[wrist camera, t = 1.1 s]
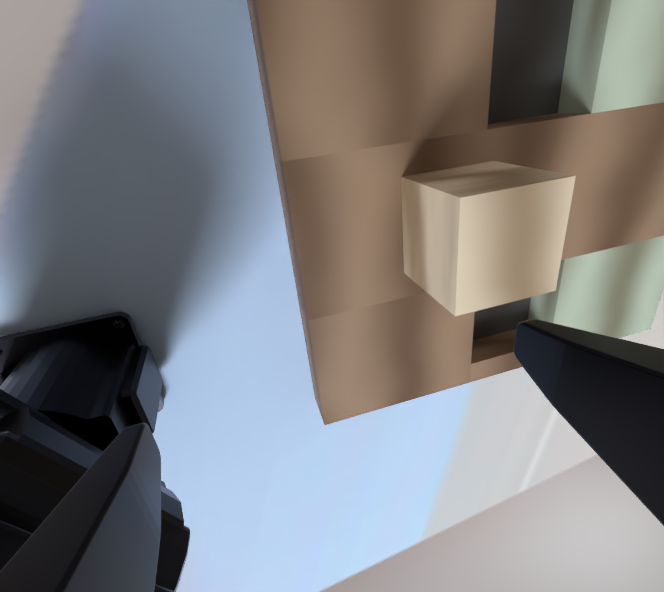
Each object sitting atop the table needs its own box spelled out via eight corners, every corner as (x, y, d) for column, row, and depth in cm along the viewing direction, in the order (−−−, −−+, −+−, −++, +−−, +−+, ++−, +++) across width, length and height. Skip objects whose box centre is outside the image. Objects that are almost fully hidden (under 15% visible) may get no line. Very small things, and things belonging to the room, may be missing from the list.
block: (403, 272, 21) (455, 316, 16) (401, 177, 18) (460, 197, 14) (486, 254, 22) (555, 290, 17) (493, 160, 19) (576, 175, 15)
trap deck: (315, 398, 26) (324, 425, 24) (239, -44, 15) (244, -69, 13) (619, 313, 31) (650, 328, 28) (722, -68, 20) (784, -89, 18)
